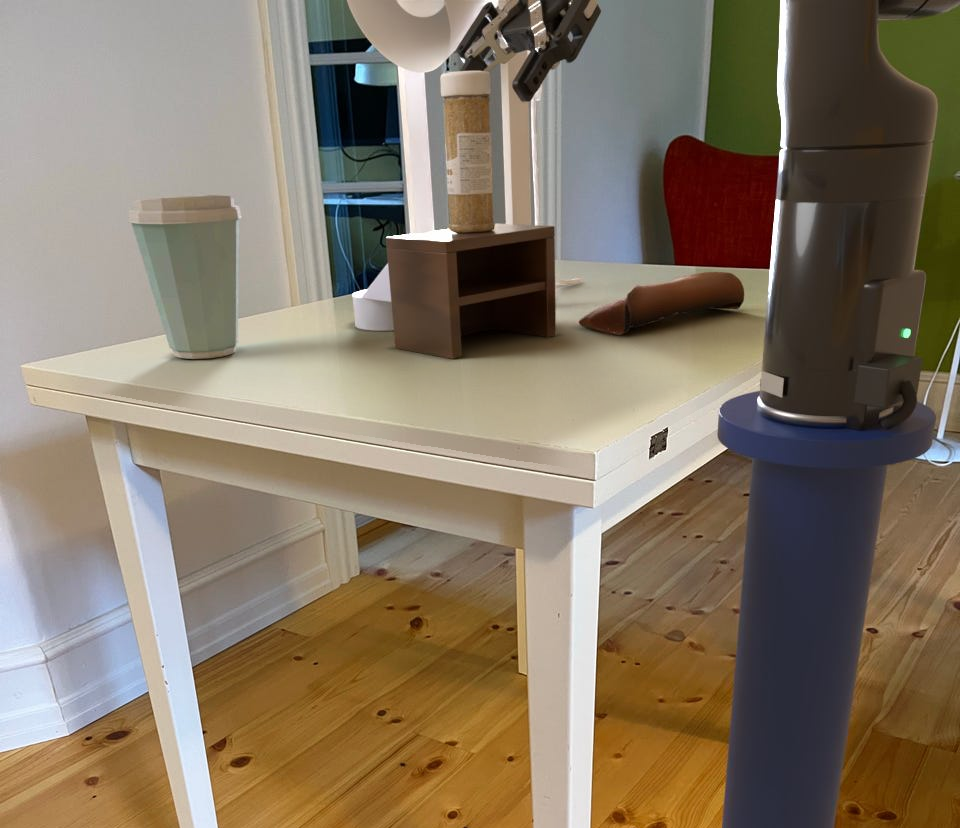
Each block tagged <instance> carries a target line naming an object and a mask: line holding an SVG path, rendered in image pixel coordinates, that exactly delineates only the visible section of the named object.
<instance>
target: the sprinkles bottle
mask: <svg viewBox="0 0 960 828" xmlns="http://www.w3.org/2000/svg"><path fill="white" fill-rule="evenodd" d="M439 79H440V81H439V83H440V96H441V97H442V98H443V99H442V103H443V115H444V117H443V119H444V135H445V137H444V138H445V139H444V140H445V141H444V149H445V165H446V166H445V167H446V168H445V169H446V186H447V187H446V188H447V190H446V191H447V195H448V209H449V210H448V213H449V214H448V215H449V224H448V229H449V230H450V231H451V232H455V233H472V232H485V231H490V230H493V229H494V228H495V224H494V223H495V221H494V207H493V205H494V204H493V193H494V183H493V182H494V181H493V177H494V176H493V152H492V151H493V148H492V131H491V116H490V115H491V114H490V101H491V97H490V95H491V93H492V86H491V85H492V84H491V74H490V71H489V72H487V71H460V70H457V71H449V72H445V73H442V74H440V77H439Z"/></svg>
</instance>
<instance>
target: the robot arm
mask: <svg viewBox="0 0 960 828" xmlns="http://www.w3.org/2000/svg"><path fill="white" fill-rule="evenodd" d="M959 6H960V0H779V32H778V33H779V34H778V53H777V54H778V56H777V73H776V74H777V77H776V90H777V91H776V92H777V102H778V108H779V114H780V123H781V129H780V130H781V132H780V146H779V147H780V149H779V156H778V168H777V169H778V170H777V181H776V191H775V205H774V217H773V227H772V239H771V253H770V262H769V263H770V264H769V275H768V287H767V288H768V289H767V298H766V299H767V300H766V311H765V322H764V323H765V324H764V335H763V346H762V363H761V373H760V375H761V376H760V381H759V387H760V388H759V391H760V395H759V396H758V402H757V411H758V413H759V414H760V415H762V416H763V417H765V418H767V419H770V420H772V421H776V422H779V423H783V424H788V425H793V426H800V427H809V428H824V429H851V430H856V431H864V430H866V429H869V428H871V427H873V426H876V425H878V424H881V425H882V426H883V427H884V428H885V429H887V430H890V429H891V428H893V427H894V426H896V425H898V424H900V423H902V422H903V421H905V420H906V419H908V418H909V417H910V416H911V414H912V413H913V411H914V410H915V407H916V404H917V402H918V391H919V385H920V378H921V374H922V373H921V372H922V367H923V359H924V358H923V357H921V356H915V354H916V353H915V352H916V347H917V339H918V334H919V326H920V321H921V314H922V308H923V301H924V294H925V288H926V287H925V286H926V281H927V273H926V272H925V271H924V270H921V269H915V266H916V259H917V252H918V245H919V239H920V234H921V233H920V232H921V225H922V218H923V212H924V205H925V200H926V199H925V197H926V192H927V184H928V179H929V172H930V165H931V159H932V150H933V145H934V143H933V141H934V139H935V132H936V127H937V126H936V125H937V120H938V111H939V105H938V103H939V102H938V97H937V95H936V94H935V92H934V91H932V89H930V88H929V87H927V86H925V85H923V84H920V83H918V82H916V81H914V80H912V79H911V78H908V77H907V76H905V75H904V74H902V73H901V72H899V71H898V70H897V69H896V68H895V67H894V66H893V65H892V64H891V63H890V62H889V61H888V59H887V58H886V56H885V55H884V53H883V52H882V50H881V46H880V39H879V22H881V21H907V20H918V19H924V18H928V17H934V16H938V15H942V14H945V13H947V12H949V11H951V10H953V9H955V8H957V7H959ZM601 13H602V9H601V8H600V6H599V4H598V1H597V0H510V1H509V2H508V3H507V4H506V5H505V6H504V7H503V9H499V8H498V9H497V7H496V8H495V7H494V5H493V4H492V2H488V3H487V4H486V5H484V7H483V8H482V10H481V11H480V13H479V14H478V16H477V17H476V19H475V21H474V22H473V24H472V25H471V27H470V28H469V30H468V31H467V33H466V34H465V36H464V38H463V39H462V41H461V42H460V44H459V45H458V47H457V48H456V50H455V53H456V54H457V56H458V57H459V59H460V60H461V61H462V63H463V65H462V66H461V68H460V69H459V71H487V72H489V73H490V71H491V70H492V69H494V68H495V67H496V66H497V65H498V64H500V63H501V64H505V63H507V62H508V61H509V60H510V59H512V58H513V57H514V56H515V55H516V54H517V53H520V52H523V51H525V50H529V51H531V52H530V53H529V55H528V57H527V58H526V60H525V62H524V63H523V65H522V67H521V68H520V70H519V72H518V74H517V75H516V77H515V79H514V80H513V83H512V87H513V90H514V91H515V93H516V94H517V96H518V97H519V99H520V100H521V101H522V102H529V103H530V102H531V100H532V98H533V96H534V95H535V93H536V92H537V91H538V89H539V88H540V86H541V84H542V85H543V82H544V80H545V79H546V77H547V76H548V74H549V72H550V71H553V70H555V69H556V68H558V67H559V65H560V64H561V61H564V60H565V62H566V63H567V64H571V63H573V62H575V60H576V59H577V58H578V56H579V54H580V52H581V50H582V48H583V47H584V45H585V44H586V42H587V39H588V38H589V36H590V34H591V32H592V31H593V28H594V26H595V24H596V22H597V21H598V19H599V17H600V15H601ZM570 33H571V35H572V39H571V40H570V38H569V35H570ZM501 36H502V37H503V39H504V41H505V42H506V44H507V45H508V47H507V48H505V49H503V48H501V47H500V43H498V41H497V40H498V39H500V37H501ZM491 50H492V54H491V55H490V56H489V57H488V58H486V57H487V56H488V54H489V52H490V51H491ZM501 64H500V65H501Z"/></svg>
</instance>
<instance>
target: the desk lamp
mask: <svg viewBox="0 0 960 828" xmlns="http://www.w3.org/2000/svg"><path fill="white" fill-rule="evenodd" d="M509 1H510V0H346V2H347V5H348V7H349V11H350V12H351V15H352V17H353V19H354V20H355V22H356V24H357V25H358V28H359V29H360V30H361V32H362V34H363V35H364V36H365V38H366V39H367V41H369V43H370V44H371V45H372V46H373V47H374V48H375V49H376V50H377V51H378V52H379V53H380V54H381V55H382V56H383V57H384V58H385V59H387V60H388V61H390V62H391V63H392V64H394V65H396V66H397V74H398V75H397V76H398V88H399V89H398V90H399V101H400V103H399V104H400V113H401V114H400V115H401V128H402V129H401V130H402V140H403V141H402V142H403V143H402V144H403V154H404V168H405V180H406V181H405V182H406V195H407V208H408V209H407V210H408V221H409V222H408V223H409V234H415V233H423V232H431V231H436V230H435V217H434V215H435V214H434V201H433V199H434V198H433V186H432V185H433V184H432V171H431V154H430V153H431V152H430V138H429V124H428V123H429V121H428V109H427V107H428V106H427V93H426V91H427V90H426V78H425V77H426V75H425V74H426V73H430V72H432V71H435V70H437V69H438V68H439V67H440V66H441V65H443V64H444V63H445V61H446V60H448V59H449V58H450V56H451V55H452V54H453V53H455V52H456V48H457V47H458V45H459V44H460V42H461V41H462V39H463V38H464V36H465V34H466V33H467V31H468V30H469V28H470V27H471V25H472V24H473V22H474V21H475V19H476V17H477V16H478V14H479V13H480V11H481V10H482V8H483V7H484V5H486V4H487V3H488V2H492V4H493V5H494V7H495V8H496V9H497V8H498V9H503V7H504V6H505V5H506V4H507V3H508V2H509ZM499 46H500V47H501V48H503V49H505V48H507V47H508V45H507V44H506V42H505V41H504V39H503V37H502V36H501V37H500V38H499ZM530 52H531V51H529V50H525V51H523V52H520V53H517V54H516V55H515V56H514V57H513V58H512V59H510V60H509V61H508V62H507V63H505V64H501V63H499V64H500V91H501V94H500V95H501V118H502V119H501V120H502V123H501V124H502V145H503V146H502V149H503V152H502V153H503V178H504V179H503V180H504V183H503V184H504V206H505V207H504V210H505V224H518V225H532V195H531V193H532V192H531V189H532V187H531V157H532V177H533V179H532V180H533V198H534V199H533V200H534V201H533V202H534V225H540V226H541V216H540V185H539V183H540V182H539V163H538V162H539V160H538V138H537V136H538V135H537V134H538V133H537V130H538V129H537V102H539V101H541V100H542V97H543V96H542V95H543V83H542V84H541V86H540V88H539V89H538V91H537V92H536V93H535V95H534V96H533V98H532V100H531V101H529V102H522V101H521V100H520V99H519V97H518V96H517V94H516V93H515V91H514V90H513V87H512V83H513V80H514V79H515V77H516V75H517V74H518V72H519V70H520V68H521V67H522V65H523V63H524V62H525V60H526V58H527V57H528V55H529V53H530ZM529 103H530V106H529ZM530 123H531V145H530ZM581 281H582V280H581V277H577V278H573V279H572V278H571V279H561V278H557V277H555V284H557V285H560V286H561V285H563V286H570V285H575V284H580V283H581Z"/></svg>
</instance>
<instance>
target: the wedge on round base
mask: <svg viewBox="0 0 960 828" xmlns="http://www.w3.org/2000/svg"><path fill="white" fill-rule="evenodd" d="M352 305H353V315H354V326H355V328H357V329H359V330H365V331H377V332H382V331H384V332H385V331H387V332H388V331H394V328H393V316H392V305H391V293H390V281H389V269H388V262H387V263H386V265H384V266H383V268H382V270H381V271H380V272H379V273H378V275H377V276H376V277H375V278H374V280H373V281H372V282H371V284H370V285H369V286H368V287H367V289H361V290H359V291H355V292H353V293H352Z"/></svg>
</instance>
